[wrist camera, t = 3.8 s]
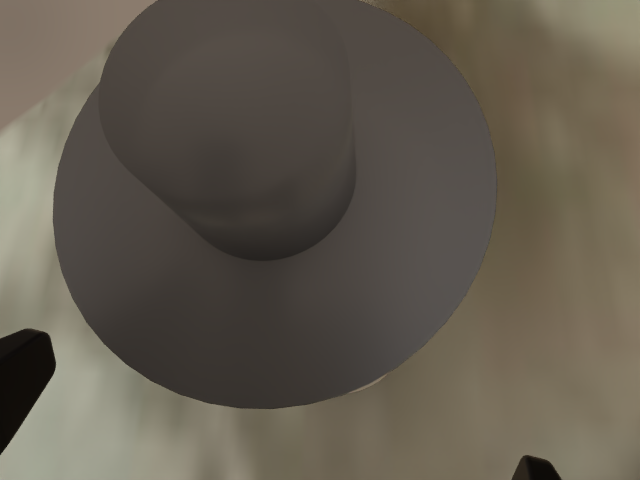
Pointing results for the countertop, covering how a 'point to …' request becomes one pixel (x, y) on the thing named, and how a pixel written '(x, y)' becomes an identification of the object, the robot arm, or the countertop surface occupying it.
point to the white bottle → (273, 198)
